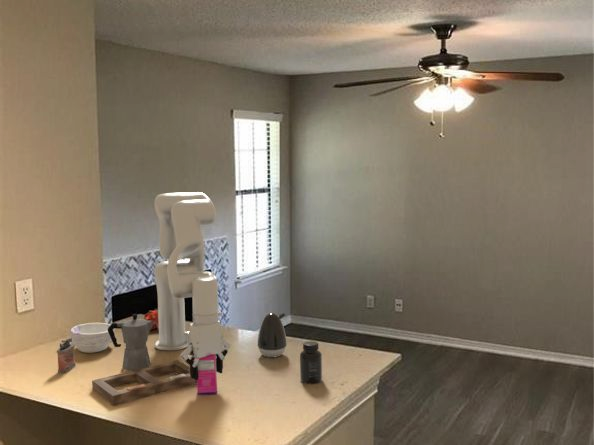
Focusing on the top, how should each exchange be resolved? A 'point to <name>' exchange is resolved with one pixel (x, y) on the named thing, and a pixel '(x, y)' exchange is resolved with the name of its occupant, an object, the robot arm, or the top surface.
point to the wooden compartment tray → (143, 382)
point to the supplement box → (207, 375)
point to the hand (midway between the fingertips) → (206, 375)
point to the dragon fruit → (153, 318)
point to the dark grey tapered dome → (272, 336)
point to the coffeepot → (133, 342)
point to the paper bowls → (91, 337)
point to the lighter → (66, 356)
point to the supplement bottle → (310, 363)
